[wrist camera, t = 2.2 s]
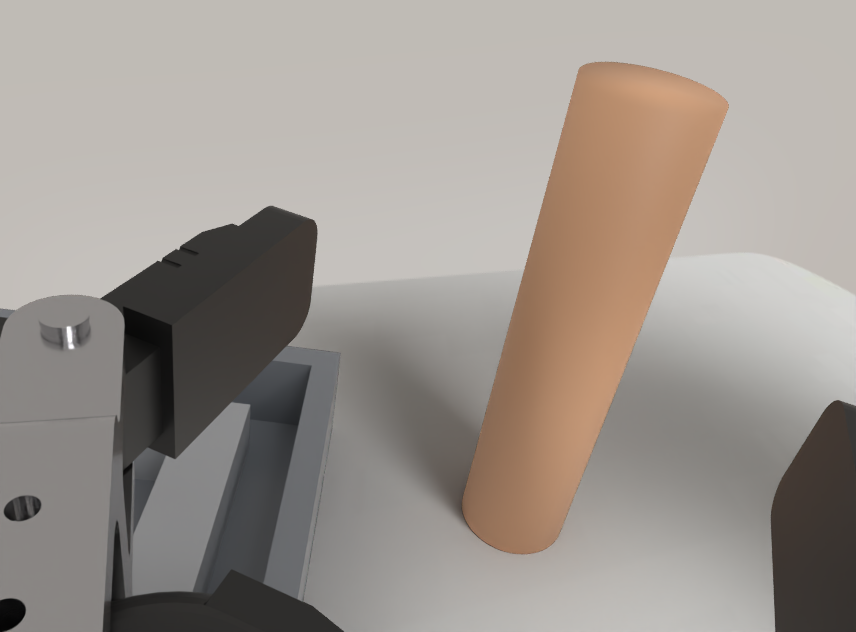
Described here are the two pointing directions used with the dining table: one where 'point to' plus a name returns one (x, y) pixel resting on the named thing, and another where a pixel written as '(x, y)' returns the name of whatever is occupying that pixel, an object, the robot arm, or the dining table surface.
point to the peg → (586, 291)
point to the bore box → (240, 485)
